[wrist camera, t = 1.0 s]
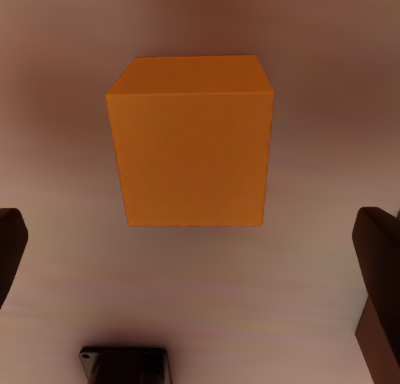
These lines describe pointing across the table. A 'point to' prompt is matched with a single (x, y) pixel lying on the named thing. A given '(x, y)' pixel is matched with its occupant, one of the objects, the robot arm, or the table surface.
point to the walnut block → (376, 348)
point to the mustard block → (192, 140)
